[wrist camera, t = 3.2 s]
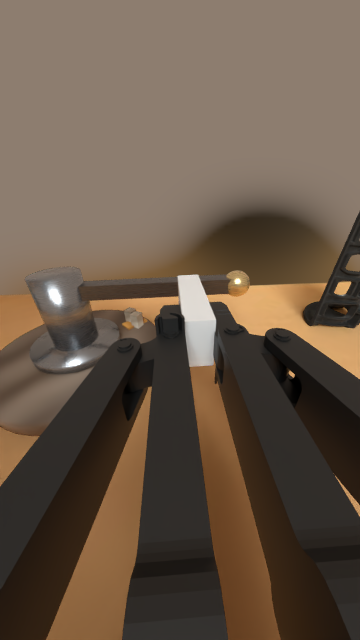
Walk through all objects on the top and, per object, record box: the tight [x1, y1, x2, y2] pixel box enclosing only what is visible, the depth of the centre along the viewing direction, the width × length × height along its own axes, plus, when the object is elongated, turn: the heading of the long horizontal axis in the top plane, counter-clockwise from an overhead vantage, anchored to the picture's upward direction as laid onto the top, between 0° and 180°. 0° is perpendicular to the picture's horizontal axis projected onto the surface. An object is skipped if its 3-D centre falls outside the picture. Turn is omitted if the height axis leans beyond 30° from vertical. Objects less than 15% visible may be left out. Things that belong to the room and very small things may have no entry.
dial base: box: [0, 307, 156, 436], centre depth 25 cm, size 20×20×4 cm
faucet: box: [25, 267, 250, 374], centre depth 23 cm, size 25×10×9 cm, turn 93°
